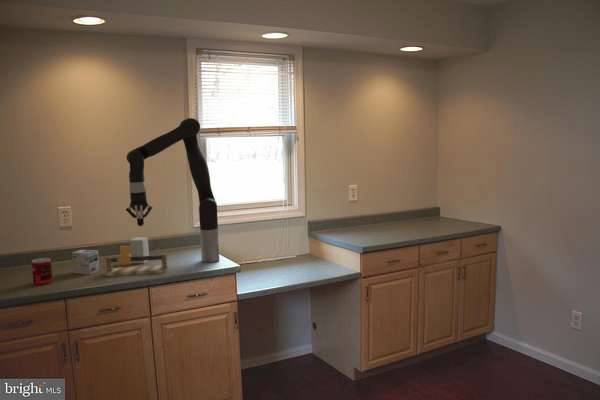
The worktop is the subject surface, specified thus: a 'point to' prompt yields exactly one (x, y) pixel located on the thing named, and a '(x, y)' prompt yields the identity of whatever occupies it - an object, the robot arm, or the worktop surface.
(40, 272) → the canned food
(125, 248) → the sleeve
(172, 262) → the worktop surface
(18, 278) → the worktop surface
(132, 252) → the supplement box
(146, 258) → the beige long open box
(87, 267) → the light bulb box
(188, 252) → the worktop surface
